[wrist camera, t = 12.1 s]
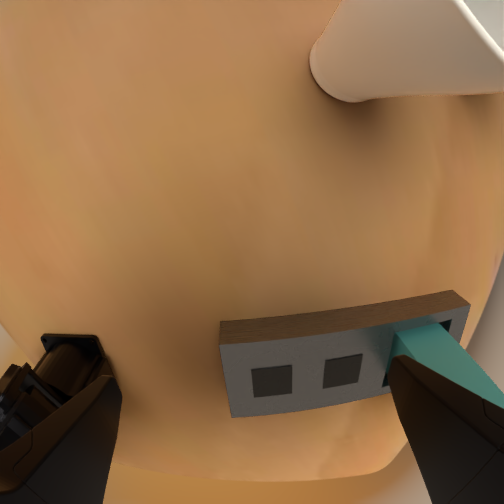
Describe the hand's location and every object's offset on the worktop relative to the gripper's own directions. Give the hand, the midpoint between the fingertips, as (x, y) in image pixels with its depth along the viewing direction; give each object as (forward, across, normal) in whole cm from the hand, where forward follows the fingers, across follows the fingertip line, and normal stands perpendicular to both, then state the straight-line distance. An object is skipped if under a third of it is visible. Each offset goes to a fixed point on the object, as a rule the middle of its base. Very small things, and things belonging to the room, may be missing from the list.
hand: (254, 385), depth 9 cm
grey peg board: (+13, -8, +10) cm, 18 cm away
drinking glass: (+14, -8, -12) cm, 20 cm away
